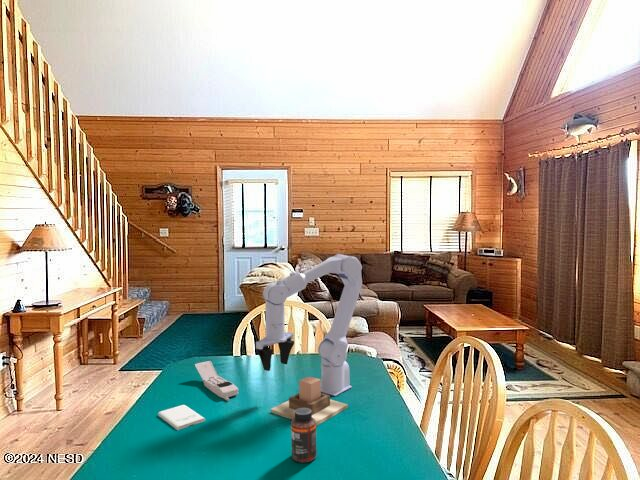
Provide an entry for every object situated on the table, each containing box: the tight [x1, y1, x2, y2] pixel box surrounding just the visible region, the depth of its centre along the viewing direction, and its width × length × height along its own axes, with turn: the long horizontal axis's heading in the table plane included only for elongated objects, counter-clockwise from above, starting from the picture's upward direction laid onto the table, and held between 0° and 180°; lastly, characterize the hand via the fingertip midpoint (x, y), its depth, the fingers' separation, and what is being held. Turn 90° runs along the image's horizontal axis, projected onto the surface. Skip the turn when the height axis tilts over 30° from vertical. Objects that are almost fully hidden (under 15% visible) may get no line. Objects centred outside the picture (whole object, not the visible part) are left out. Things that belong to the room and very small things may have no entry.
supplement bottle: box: [290, 408, 318, 463], centre depth 114 cm, size 6×6×11 cm
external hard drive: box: [157, 404, 206, 431], centre depth 137 cm, size 2×8×12 cm
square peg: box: [298, 376, 322, 403], centre depth 141 cm, size 4×4×8 cm
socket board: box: [270, 392, 349, 427], centre depth 141 cm, size 16×16×4 cm
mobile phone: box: [194, 360, 239, 402], centre depth 159 cm, size 6×6×25 cm
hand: (275, 366), depth 148 cm, fingers open, 7 cm apart
